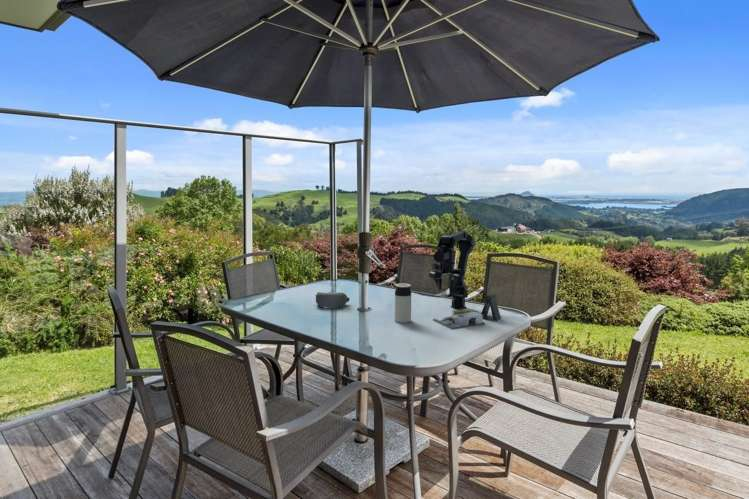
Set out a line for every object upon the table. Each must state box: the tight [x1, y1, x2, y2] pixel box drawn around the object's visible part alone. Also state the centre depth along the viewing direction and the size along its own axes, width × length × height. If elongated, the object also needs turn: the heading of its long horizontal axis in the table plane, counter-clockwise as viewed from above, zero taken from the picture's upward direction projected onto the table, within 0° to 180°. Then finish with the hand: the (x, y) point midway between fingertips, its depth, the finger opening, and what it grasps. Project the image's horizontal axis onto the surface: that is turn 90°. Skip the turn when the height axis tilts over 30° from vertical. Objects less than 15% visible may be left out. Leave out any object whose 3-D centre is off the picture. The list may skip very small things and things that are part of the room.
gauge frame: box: [432, 311, 486, 330], centre depth 211 cm, size 19×16×5 cm
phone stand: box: [480, 293, 502, 322], centre depth 217 cm, size 9×6×12 cm, turn 54°
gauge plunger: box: [442, 308, 472, 321], centre depth 209 cm, size 16×8×5 cm, turn 115°
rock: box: [315, 291, 350, 309], centre depth 241 cm, size 18×11×8 cm, turn 88°
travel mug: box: [394, 282, 412, 324], centre depth 212 cm, size 8×8×18 cm
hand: (446, 289), depth 224 cm, fingers open, 9 cm apart
